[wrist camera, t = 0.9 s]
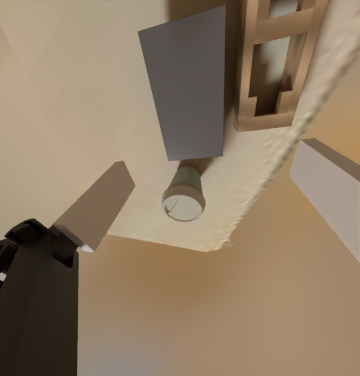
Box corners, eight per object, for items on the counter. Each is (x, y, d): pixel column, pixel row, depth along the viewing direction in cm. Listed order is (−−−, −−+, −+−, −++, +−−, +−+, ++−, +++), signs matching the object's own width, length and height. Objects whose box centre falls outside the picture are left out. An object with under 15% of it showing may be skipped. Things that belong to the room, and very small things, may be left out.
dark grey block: (158, 46, 21) (137, 31, 15) (218, 29, 19) (225, 4, 13) (176, 142, 30) (168, 161, 23) (218, 137, 28) (222, 156, 22)
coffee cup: (195, 153, 31) (190, 185, 22) (211, 181, 35) (213, 218, 26) (164, 168, 35) (149, 201, 25) (182, 192, 39) (175, 228, 29)
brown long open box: (247, -123, 13) (262, -195, 10) (348, -171, 12) (409, -278, 8) (233, 125, 27) (237, 132, 23) (279, 119, 25) (291, 125, 21)
